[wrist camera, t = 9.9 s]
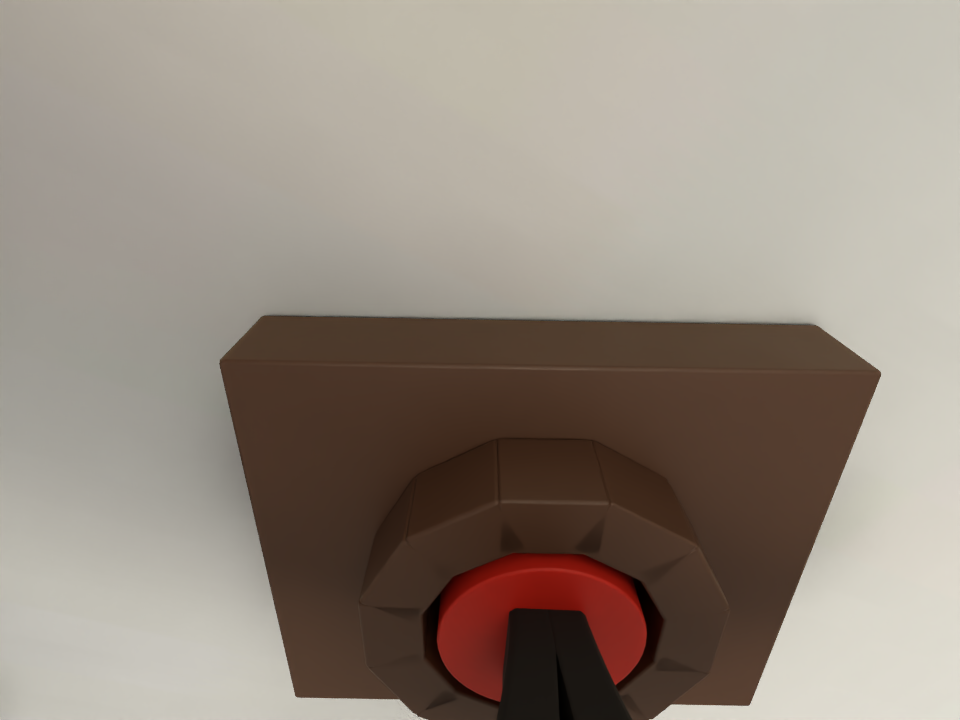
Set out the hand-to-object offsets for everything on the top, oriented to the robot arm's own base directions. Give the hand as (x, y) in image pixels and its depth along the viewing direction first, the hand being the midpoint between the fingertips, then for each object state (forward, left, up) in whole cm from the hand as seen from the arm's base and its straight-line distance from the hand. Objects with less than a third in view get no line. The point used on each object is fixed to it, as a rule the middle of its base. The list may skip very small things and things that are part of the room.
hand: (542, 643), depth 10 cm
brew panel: (0, 0, -4) cm, 4 cm away
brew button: (0, 0, -2) cm, 2 cm away
